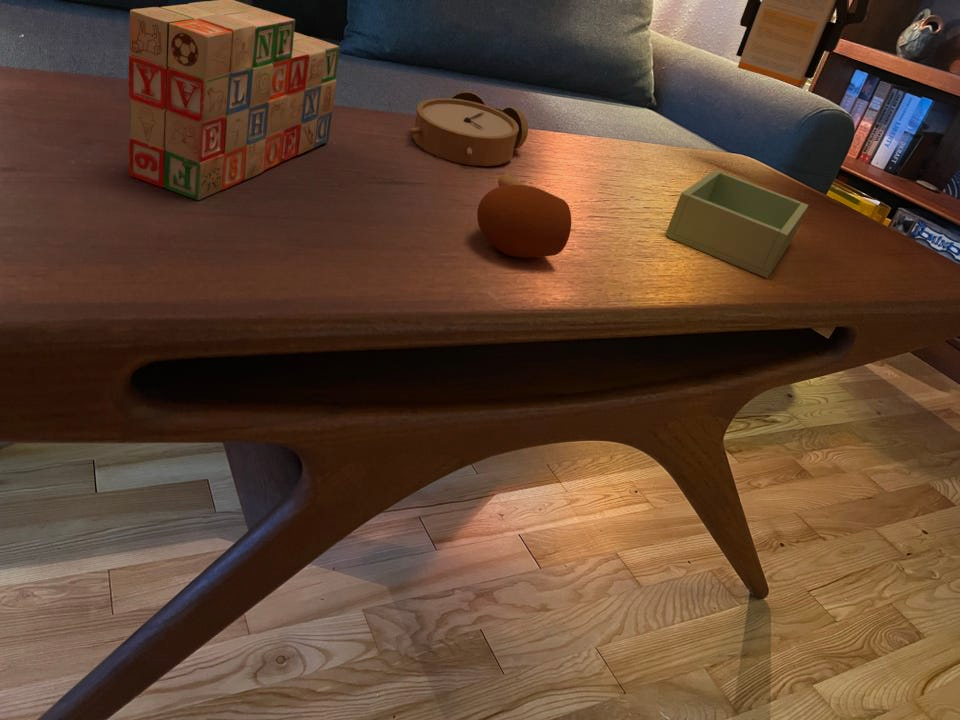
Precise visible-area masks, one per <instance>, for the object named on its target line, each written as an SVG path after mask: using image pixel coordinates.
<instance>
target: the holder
mask: <svg viewBox="0 0 960 720" xmlns="http://www.w3.org/2000/svg"><path fill="white" fill-rule="evenodd" d="M808 208H809V204H807V203H804V202H802V201H800V200H797V199H794V198H792V197H790V196H786V195H784V194H781V193H778V192H776V191H773V190H771V189H768V188H765V187H763V186H760V185H757V184H755V183H753V182H749V181H747V180H745V179H742V178H739V177H737V176H734V175H731V174H728V173H727V172H726V173H725V172H723V171H720V170H718V169H714V170H712V171H711V172H710V173H708V174H706V175H705V176H704V177H702V178H701V179H700V180H698V181H696V182H695V183H694V184H692V185H691V186H689V187H688V188H686V189H685V190H684V191H682V192H681V193H680V195H679V198H678V200H677V203H676V206H675V208H674V211H673V213H672V216H671V218H670V221H669V224H668V227H667V228H666V231H665V234H664V237H666V238H668V239H671V240H674V241H675V242H678V243H681V244H683V245H685V246H688V247H690V248H692V249H695V250H698V251H699V252H702V253H704V254H707V255H709V256H712V257H714V258H717V259H719V260H721V261H724V262H727V263H729V264H731V265H733V266H735V267H738V268H741V269H743V270H746V271H748V272H750V273H753V274H754V275H757V276H760V277H762V278H765V279H768V278H769V276H770V275H771V273H772V272H773V270H774V269H775V267H776V266H777V264H778V262H779V261H780V260H781V258H782V257H783V256H784V254H785V252H786V251H787V249H788V248H789V246H790V245H791V243H792V242H793V239H794V237H795V236H796V235H795V234H796V233H797V231H798V228H799V226H800V225H801V222H802V220H803V218H804V216H805V214H806V212H807V210H808Z"/></svg>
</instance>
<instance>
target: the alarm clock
mask: <svg viewBox="0 0 960 720" xmlns="http://www.w3.org/2000/svg"><path fill="white" fill-rule="evenodd" d="M408 131H409V133H410V134H412V138H413V141H414V142H415V144H416V145H418V146H419V147H420V148H421V149H422V150H424V151H426V153H427V152H428V153H429V154H431V155H434V156H436V157H437V158H441V159H444V160H447V161H450V162H453V163H458V164H463V165H467V166H479V167H491V166H500V165H503V164H507V163H509V161H511V159H512V158H513V156H514V151H516V150H518V149H519V148H521V147H522V146H523V145H524V144H525V142H526V140H527V138H528V135H529V134H528V133H529V125H528V120H527V117H526V116H525V115H524V114H523V113H522V112H521V110H519V109H517V108H514V107H505V108H504V109H502V108H499V107H495V106H491V105H486V104H485V102H484V100H483V99H482V98H481V96H479V95H478V94H476V93H475V92H472V91H461V92H458V93H456V94H455V95H453V96H452V97H437V98H436V97H435V98H429V99H425V100H423V101H421V102H419V103H418V104H417V108H416V116H415V123H414V127H412V128H410V129H409V130H408Z"/></svg>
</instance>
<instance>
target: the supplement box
mask: <svg viewBox="0 0 960 720" xmlns="http://www.w3.org/2000/svg"><path fill="white" fill-rule="evenodd" d="M835 14H836V0H761V5H760V8H759V10H758V13H757V15H756V18H755V21H754V24H753V26H752V29H751V32H750V34H749V37H748V40H747V42H746V45H745V48H744V51H743V53H742V56H741V57H740V59H739V62H738V64H737V68H738V69H739V70H740V69H741V70H745V71H747V72H751V73H755V74H758V75H761V76H764V77H768V78H771V79H774V80H777V81H780V82H782V83H786V84H788V85H791V86H795V87H800V86H804V85H805V84H806V82H807V79H808V78H806V77H805V74H806V72H807V70H808V67H809V65H810V63H811V60H812V58H813V56H814V53H815V51H816V49H817V46H818V44H819V42H820V39H821V37H822V35H823V33H824V30H825V28H826V26H827V23H828V22H832V20H833V17H834V15H835Z"/></svg>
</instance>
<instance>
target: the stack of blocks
mask: <svg viewBox="0 0 960 720" xmlns="http://www.w3.org/2000/svg"><path fill="white" fill-rule="evenodd" d="M295 27H296V19H295V18H291V17H289V16H285V15H282V14H279V13H275V12H272V11H269V10H265V9H262V8H259V7H255V6H251V5H249V4H247V3H244V2H241V1H238V0H207V1H196V2H189V3H187V4H186V3H185V4H176V5H167V6H166V5H165V6H160V7H159V6H152V7H143V8H133V9H130V10H129V53H130V54H129V55H128V83H127V84H128V98H129V139H128V143H129V144H128V148H129V149H128V152H129V153H128V155H129V156H128V157H129V159H128V160H129V162H128V166H129V167H128V172H129V176H131V177H132V178H136V179H138V180H141V181H143V182H147V183H148V184H152V185H155V186H157V187H160V188H165V189H166V190H169V191H172V192H173V193H177V194H179V195H182V196H184V197H187V198H190V199H193V200H195V201H200V200H203V199H205V198H207V197H209V196H211V195H214V194H216V193H218V192H220V191H224V190H226V189H229V188H231V187H234V186H235V185H238V184H240V183H242V182H244V181H246V180H248V179H251V178H253V177H256V176H258V175H260V174H262V173H263V172H264V171H267V170H268V169H270V168H272V167H274V166H277V165H279V164H281V163H283V162H286V161H287V160H289V159H292V158H294V157H296V156H299V155H302V154H304V153H305V152H307V151H308V152H309V151H311V150H312V149H314V148H317V147H320V146H321V145H322V146H323V145H324V144H326V143H328V142H329V139H330V131H331V124H332V118H333V117H332V116H333V110H334V106H335V105H334V104H335V99H336V89H337V79H336V77H337V72H338V65H339V64H338V63H339V57H340V49H341V46H339V45H337V44H335V43H331V42H328V41H325V40H323V39H319V38H316V37H313V36H308V35H305V34H302V33H300V32H297V31H295Z"/></svg>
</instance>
